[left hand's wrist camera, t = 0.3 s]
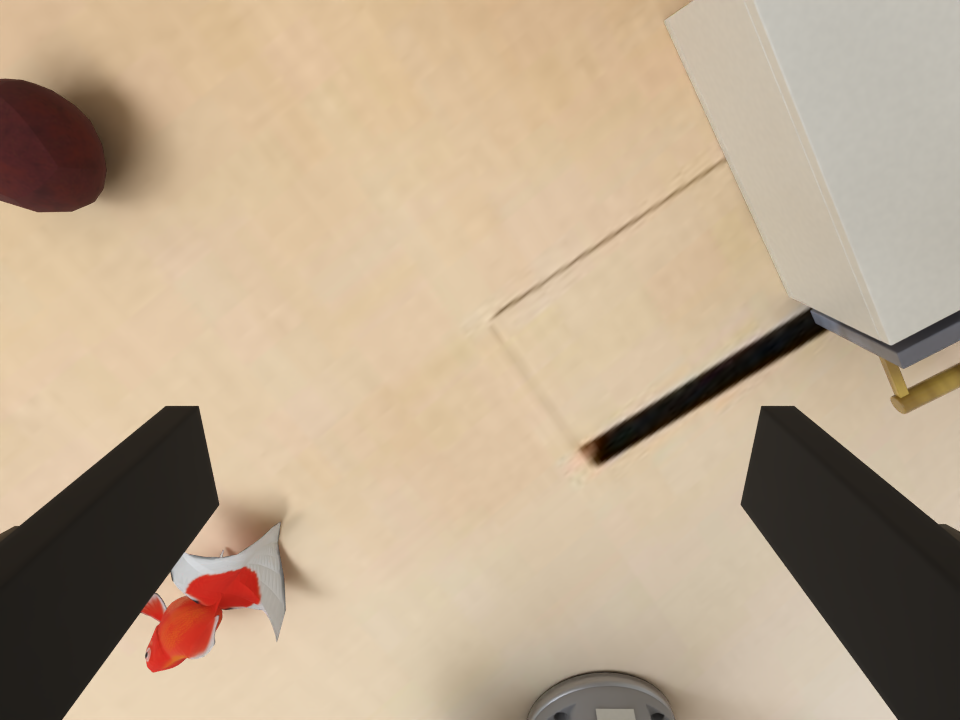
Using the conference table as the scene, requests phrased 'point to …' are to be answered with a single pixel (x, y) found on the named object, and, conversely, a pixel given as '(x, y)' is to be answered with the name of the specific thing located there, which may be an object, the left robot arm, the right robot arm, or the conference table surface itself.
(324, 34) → the conference table surface
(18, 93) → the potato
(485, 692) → the conference table surface
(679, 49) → the cabinet
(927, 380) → the drawer
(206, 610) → the fish
